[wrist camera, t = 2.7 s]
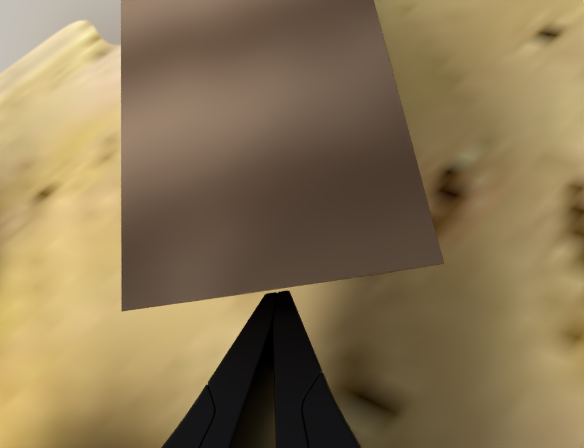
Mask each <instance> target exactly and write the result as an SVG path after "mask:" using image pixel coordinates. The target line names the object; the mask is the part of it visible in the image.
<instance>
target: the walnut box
mask: <svg viewBox="0 0 584 448" xmlns="http://www.w3.org/2000/svg"><path fill="white" fill-rule="evenodd" d="M121 242H122V311H128V310H135V309H142V308H149V307H156V306H163V305H170V304H177V303H184V302H192V301H199V300H206V299H213V298H220V297H227V296H234V295H241V294H248V293H254V292H261V291H268V290H275V289H281V288H288V287H295V286H302V285H309V284H315V283H322V282H329V281H336V280H342V279H349V278H356V277H363V276H370V275H376V274H383V273H389V272H396V271H402V270H408V269H414V268H420V267H427V266H433V265H439V264H444V262H443V258H442V255H441V251H440V247H439V243H438V240H437V236H436V232H435V228H434V225H433V221H432V217H431V214H430V210H429V206H428V202H427V199H426V195H425V191H424V187H423V184H422V180H421V176H420V172H419V169H418V165H417V161H416V157H415V154H414V150H413V146H412V143H411V139H410V135H409V131H408V128H407V124H406V120H405V116H404V113H403V109H402V105H401V101H400V98H399V94H398V90H397V87H396V83H395V79H394V75H393V72H392V68H391V64H390V60H389V57H388V53H387V49H386V45H385V42H384V38H383V34H382V30H381V27H380V23H379V19H378V16H377V12H376V8H375V4H374V1H373V0H121Z"/></svg>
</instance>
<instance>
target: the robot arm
mask: <svg viewBox="0 0 584 448" xmlns="http://www.w3.org/2000/svg"><path fill="white" fill-rule="evenodd" d="M161 448H361V446H360V444H359V443H358V441H357V439H356V437H355V436H354V434H353V432H352V430H351V429H350V427H349V425H348V423H347V422H346V420H345V418H344V416H343V414H342V412H341V410H340V409H339V407H338V405H337V403H336V401H335V399H334V396H333V394H332V392H331V390H330V388H329V385H328V383H327V381H326V378H325V376H324V374H323V372H322V369H321V366H320V364H319V362H318V359H317V357H316V354H315V352H314V349H313V347H312V345H311V342H310V340H309V337H308V335H307V332H306V330H305V328H304V325H303V323H302V320H301V318H300V315H299V313H298V311H297V308H296V306H295V303H294V301H293V298H292V296H291V294H290V292H289V291H281V292H278V293H276V292H274V293H268V294H265V295H264V297H263V298H262V300H261V302H260V303H259V305H258V306H257V308H256V309H255V311H254V312H253V314H252V315H251V317H250V318H249V320H248V322H247V323H246V325H245V326H244V328H243V329H242V331H241V332H240V334H239V335H238V337H237V338H236V340H235V342H234V343H233V345H232V346H231V348H230V349H229V351H228V352H227V354H226V355H225V357H224V358H223V360H222V361H221V363H220V365H219V366H218V368H217V369H216V371H215V372H214V374H213V375H212V377H211V378H210V380H209V381H208V385H206V386H205V387H204V389H203V391H202V392H201V394H200V395H199V397H198V398H197V400H196V401H195V403H194V404H193V405H192V407H191V408H190V410H189V411H188V413H187V414H186V416H185V417H184V418H183V420H182V421H181V422H180V424H179V425H178V426H177V428H176V429H175V430H174V432H173V433H172V434H171V436H170V437H169V438H168V440H167V441H166V442H165V444H164V445H163V446H162V447H161Z"/></svg>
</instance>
